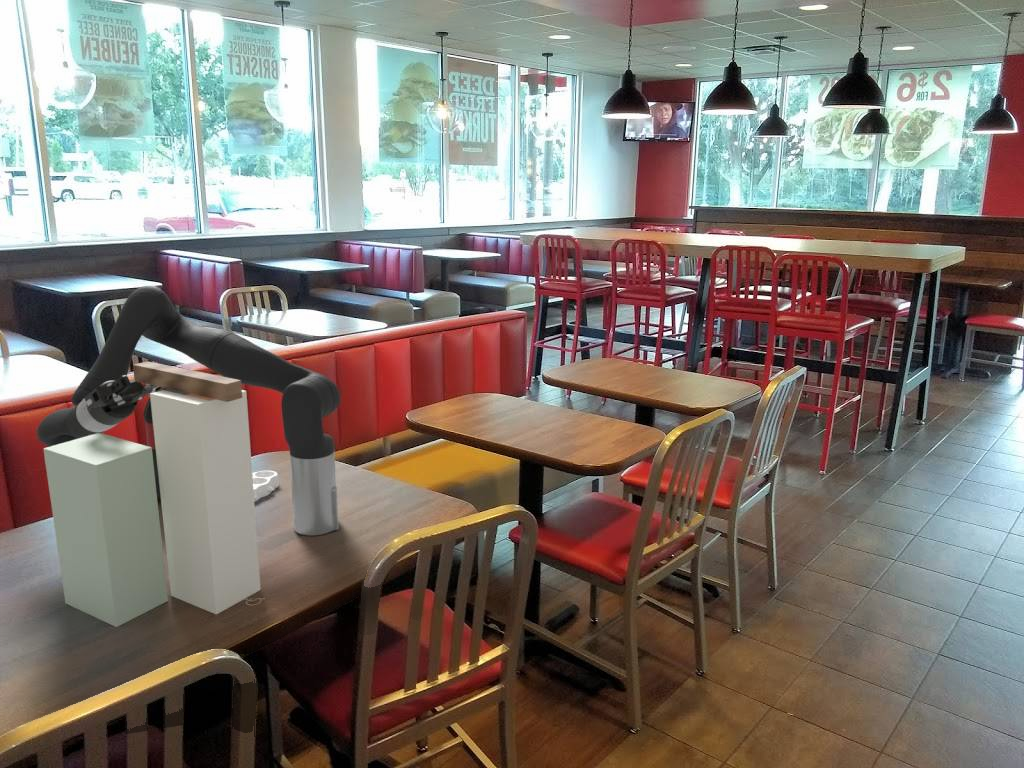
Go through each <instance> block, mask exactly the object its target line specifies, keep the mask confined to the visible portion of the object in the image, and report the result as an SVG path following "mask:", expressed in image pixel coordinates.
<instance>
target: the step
mask: <svg viewBox="0 0 1024 768" xmlns="http://www.w3.org/2000/svg"><path fill="white" fill-rule="evenodd" d="M42 451H43V454H44V463H45V469H46V478H47V483H48V491H49V498H50V503H51V513H52V519H53V526H54V533H55V539H56V546H57V547H56V548H57V555H58V560H59V568H60V575H61V581H62V582H61V583H62V588H63V594H64V601H65V602H64V604H66V605H69V606H71V607H72V608H75V609H77V610H79V611H81V612H83V613H85V614H88V615H90V616H92V617H94V618H96V619H97V620H100V621H102V622H104V623H107V624H109V625H111V626H113V627H115V628H118V627H119V626H122V625H124V624H126V623H127V622H129V621H131V620H134V619H136V618H137V617H139V616H141V615H143V614H145V613H148V612H150V611H151V610H153V609H155V608H156V607H159V606H161V605H163V604H165V603H166V602H168V601H169V599H168V589H167V580H166V579H167V578H166V572H165V561H164V559H165V558H164V553H163V551H164V550H163V541H162V533H161V532H162V531H161V523H160V513H159V506H158V505H159V504H158V499H157V493H156V484H155V474H154V465H153V455H152V447H148V445H145V444H140V443H137V442H133V441H129V440H127V439H123V438H119V437H116V436H112V435H108V434H106V433H97V434H93V435H89V436H86V437H82V438H79V439H75V440H72V441H68V442H65V443H61V444H58V445H54V446H50V447H48V446H47V447H44V448H43V450H42Z"/></svg>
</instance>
